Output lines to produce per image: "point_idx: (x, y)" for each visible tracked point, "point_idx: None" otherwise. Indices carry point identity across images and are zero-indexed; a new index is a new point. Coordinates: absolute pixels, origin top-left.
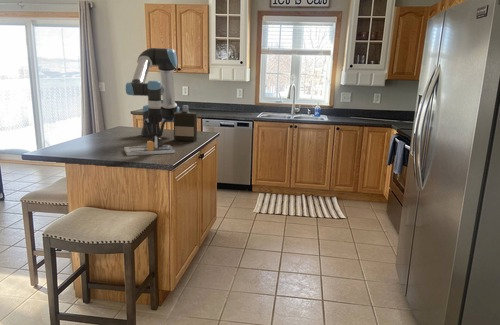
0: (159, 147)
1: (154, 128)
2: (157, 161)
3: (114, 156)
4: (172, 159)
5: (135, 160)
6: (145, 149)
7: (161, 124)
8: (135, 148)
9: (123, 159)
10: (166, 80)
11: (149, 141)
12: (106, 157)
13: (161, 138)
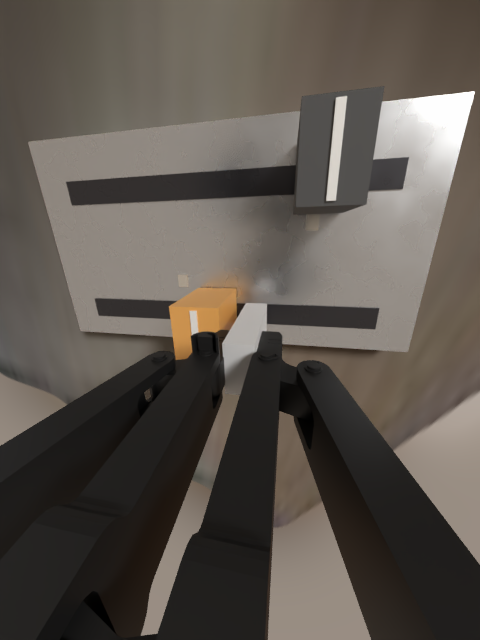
0: (308, 231)
1: (180, 503)
2: None
3: (42, 319)
4: None
5: None
6: (186, 285)
7: (409, 601)
8: (116, 225)
9: (93, 387)
10: None
11: (190, 328)
12: (14, 328)
13: (368, 163)
